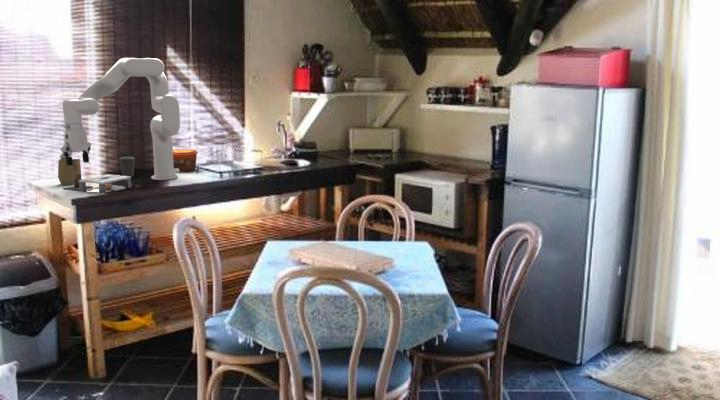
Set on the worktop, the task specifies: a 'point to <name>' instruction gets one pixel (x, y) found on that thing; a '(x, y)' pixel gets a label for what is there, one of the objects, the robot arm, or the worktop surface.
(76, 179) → the dowel
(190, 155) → the food container
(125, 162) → the coffee cup
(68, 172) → the squeeze bottle
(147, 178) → the worktop surface
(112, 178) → the small grey pallet
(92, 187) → the mat
